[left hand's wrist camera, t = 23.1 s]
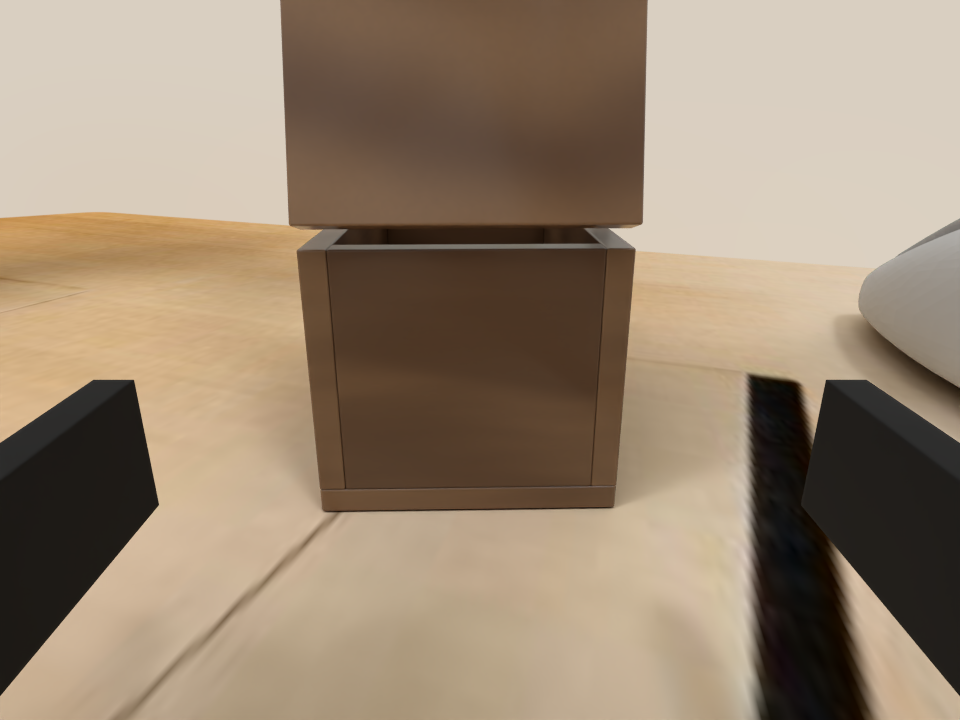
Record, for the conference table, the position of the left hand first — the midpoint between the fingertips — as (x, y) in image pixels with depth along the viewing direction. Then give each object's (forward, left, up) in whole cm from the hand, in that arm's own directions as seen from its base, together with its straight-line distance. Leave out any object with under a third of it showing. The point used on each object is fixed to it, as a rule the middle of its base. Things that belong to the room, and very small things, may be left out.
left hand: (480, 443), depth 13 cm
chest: (+14, -8, -7) cm, 17 cm away
